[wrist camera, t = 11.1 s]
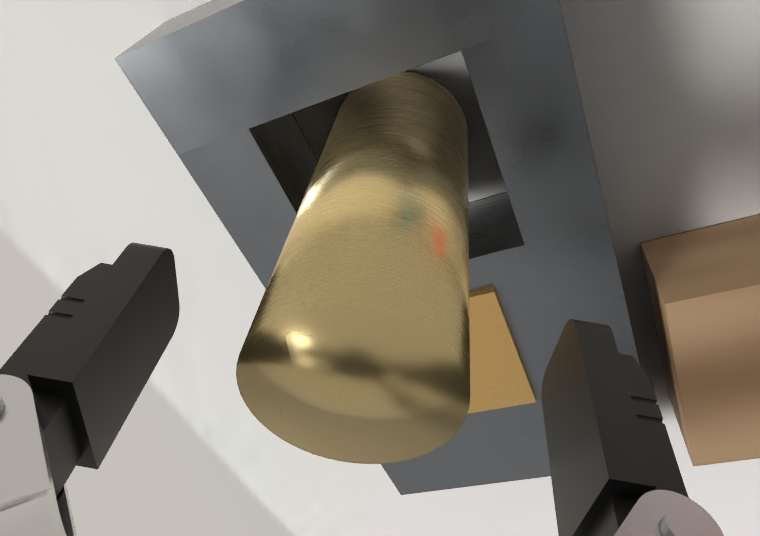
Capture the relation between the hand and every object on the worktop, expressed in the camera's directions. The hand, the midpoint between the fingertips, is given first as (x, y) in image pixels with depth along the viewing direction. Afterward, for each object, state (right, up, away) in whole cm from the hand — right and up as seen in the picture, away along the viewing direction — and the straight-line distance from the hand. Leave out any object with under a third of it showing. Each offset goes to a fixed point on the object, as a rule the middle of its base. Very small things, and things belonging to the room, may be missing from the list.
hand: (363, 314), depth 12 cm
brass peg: (+1, +5, +6) cm, 8 cm away
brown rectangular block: (+13, -1, +9) cm, 15 cm away
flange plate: (+2, +2, +8) cm, 9 cm away
